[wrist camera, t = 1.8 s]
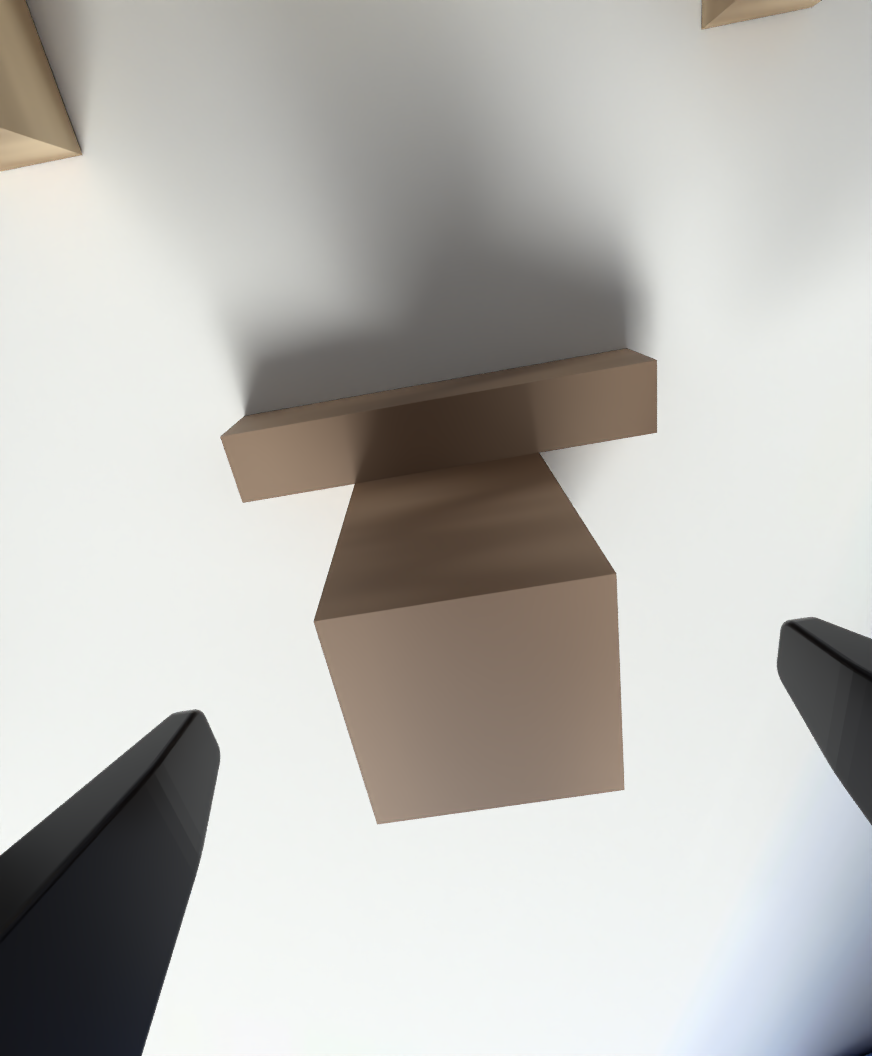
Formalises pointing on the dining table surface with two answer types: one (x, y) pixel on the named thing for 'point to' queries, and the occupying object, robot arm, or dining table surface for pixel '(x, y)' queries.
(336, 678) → the brown t-shaped block
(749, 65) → the dining table surface
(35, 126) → the wooden blocks
